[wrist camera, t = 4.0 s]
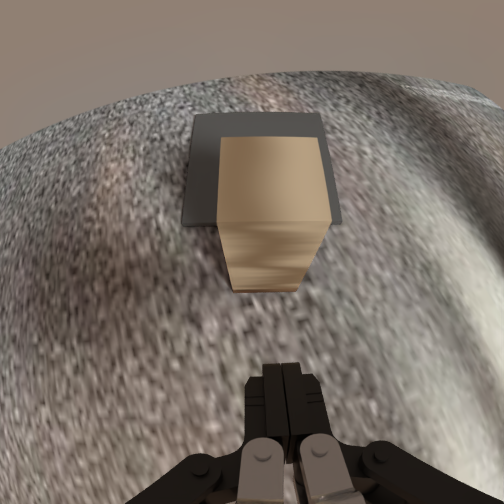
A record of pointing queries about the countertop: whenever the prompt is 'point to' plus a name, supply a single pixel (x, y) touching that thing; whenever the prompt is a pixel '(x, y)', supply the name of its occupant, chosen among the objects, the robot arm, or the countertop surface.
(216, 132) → the mat
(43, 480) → the countertop surface
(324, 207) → the maple block
